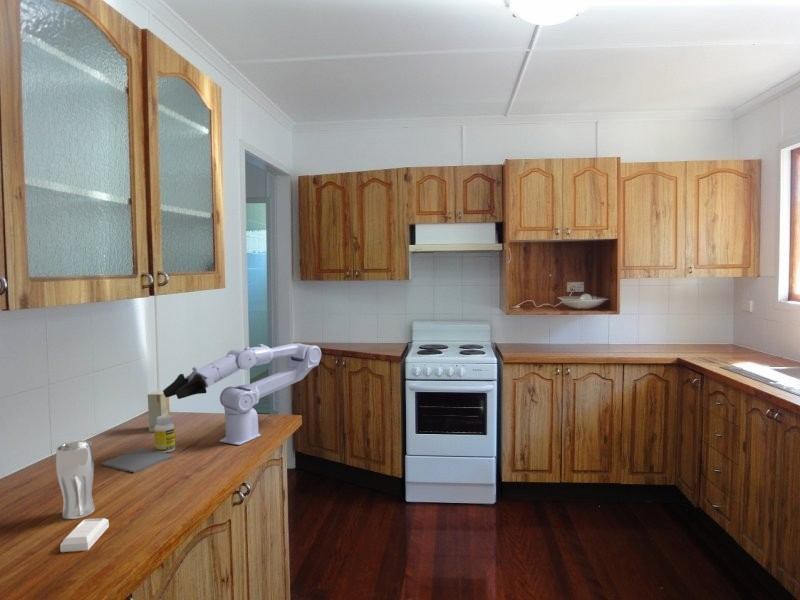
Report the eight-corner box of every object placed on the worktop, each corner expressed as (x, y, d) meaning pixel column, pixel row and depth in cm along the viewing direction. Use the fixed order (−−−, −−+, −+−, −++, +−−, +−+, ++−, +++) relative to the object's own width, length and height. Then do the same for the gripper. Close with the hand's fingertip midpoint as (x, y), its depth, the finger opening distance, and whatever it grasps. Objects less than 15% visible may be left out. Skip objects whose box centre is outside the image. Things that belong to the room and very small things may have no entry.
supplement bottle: (168, 454, 151) (166, 420, 150) (151, 453, 152) (149, 419, 151) (179, 447, 156) (178, 414, 155) (163, 446, 157) (161, 413, 156)
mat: (141, 450, 154) (141, 448, 154) (172, 457, 148) (172, 455, 148) (101, 464, 144) (101, 462, 144) (133, 473, 138) (133, 470, 138)
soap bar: (60, 553, 101) (59, 540, 101) (83, 529, 110) (83, 517, 110) (88, 552, 102) (87, 538, 101) (109, 528, 110) (108, 515, 110)
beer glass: (73, 505, 120) (68, 440, 119) (103, 505, 120) (99, 440, 119) (52, 520, 113) (47, 451, 112) (84, 520, 113) (79, 451, 112)
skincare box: (162, 432, 170) (160, 394, 169) (148, 432, 170) (146, 394, 169) (171, 425, 176) (169, 389, 175) (158, 426, 176) (156, 389, 176)
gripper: (197, 359, 159) (153, 380, 149) (221, 360, 149) (177, 382, 139) (205, 381, 160) (163, 403, 151) (230, 382, 150) (187, 406, 141)
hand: (170, 394), depth 145 cm, fingers open, 7 cm apart
